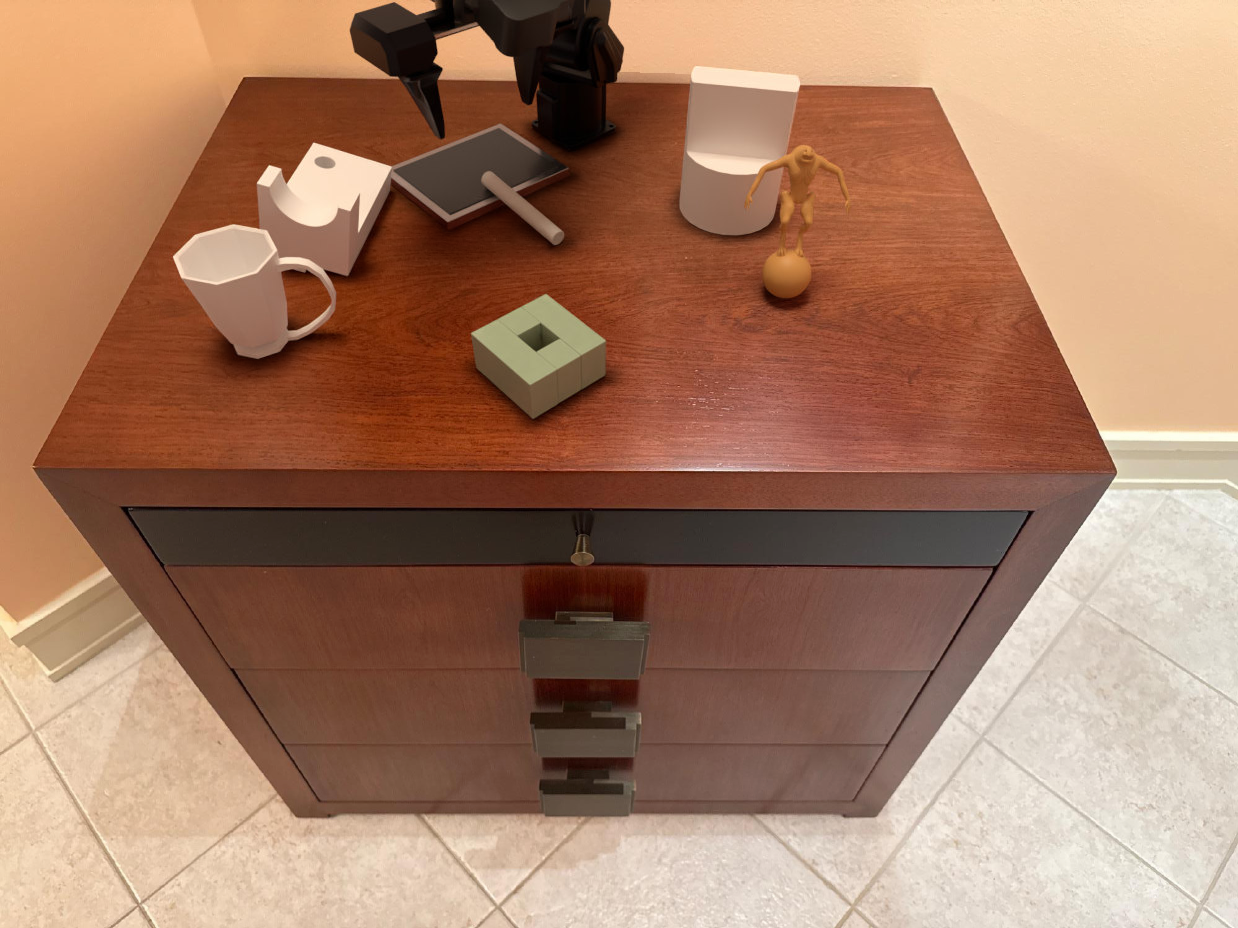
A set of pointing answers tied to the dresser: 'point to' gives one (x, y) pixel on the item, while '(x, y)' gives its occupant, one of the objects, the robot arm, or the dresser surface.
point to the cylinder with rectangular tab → (735, 147)
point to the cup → (245, 287)
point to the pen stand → (539, 355)
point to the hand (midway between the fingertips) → (484, 120)
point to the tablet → (474, 174)
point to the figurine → (790, 267)
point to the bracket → (323, 207)
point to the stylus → (522, 208)
